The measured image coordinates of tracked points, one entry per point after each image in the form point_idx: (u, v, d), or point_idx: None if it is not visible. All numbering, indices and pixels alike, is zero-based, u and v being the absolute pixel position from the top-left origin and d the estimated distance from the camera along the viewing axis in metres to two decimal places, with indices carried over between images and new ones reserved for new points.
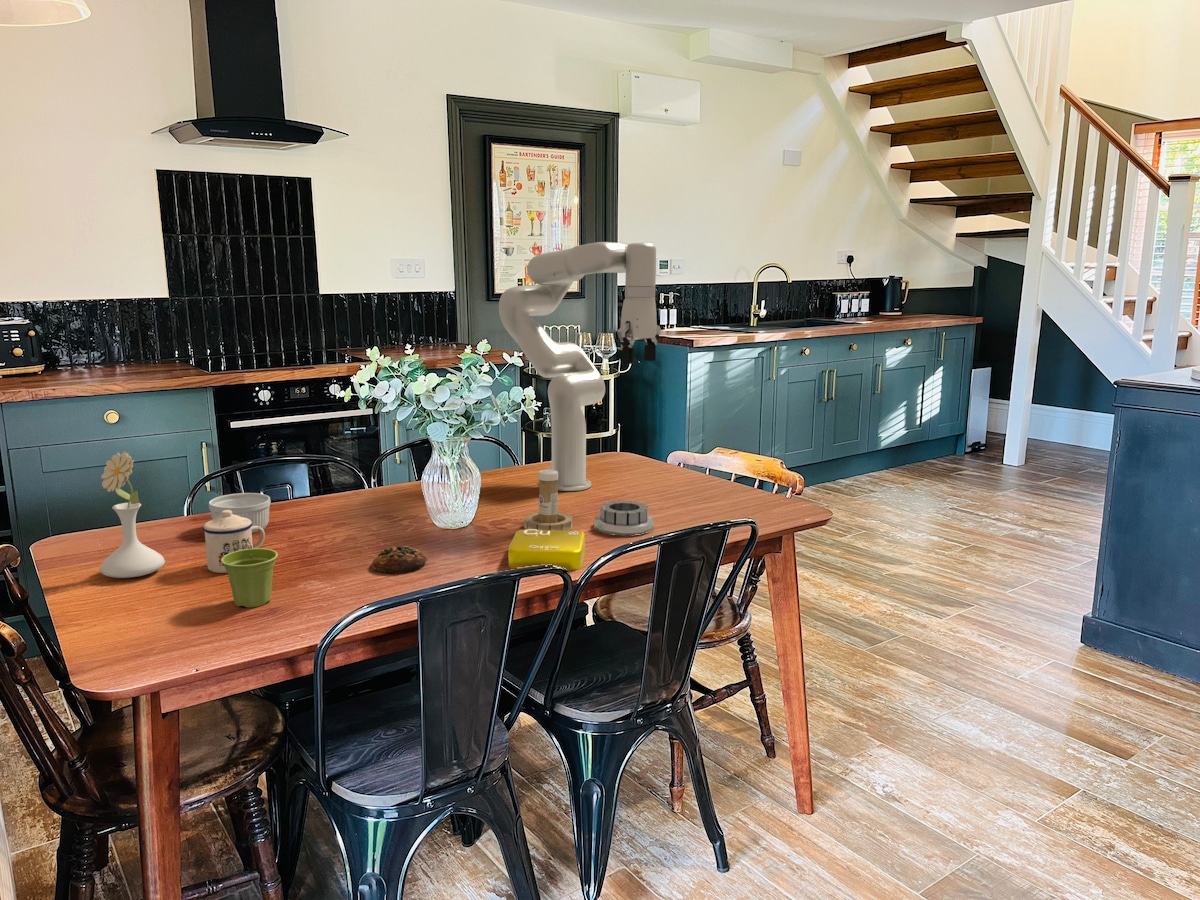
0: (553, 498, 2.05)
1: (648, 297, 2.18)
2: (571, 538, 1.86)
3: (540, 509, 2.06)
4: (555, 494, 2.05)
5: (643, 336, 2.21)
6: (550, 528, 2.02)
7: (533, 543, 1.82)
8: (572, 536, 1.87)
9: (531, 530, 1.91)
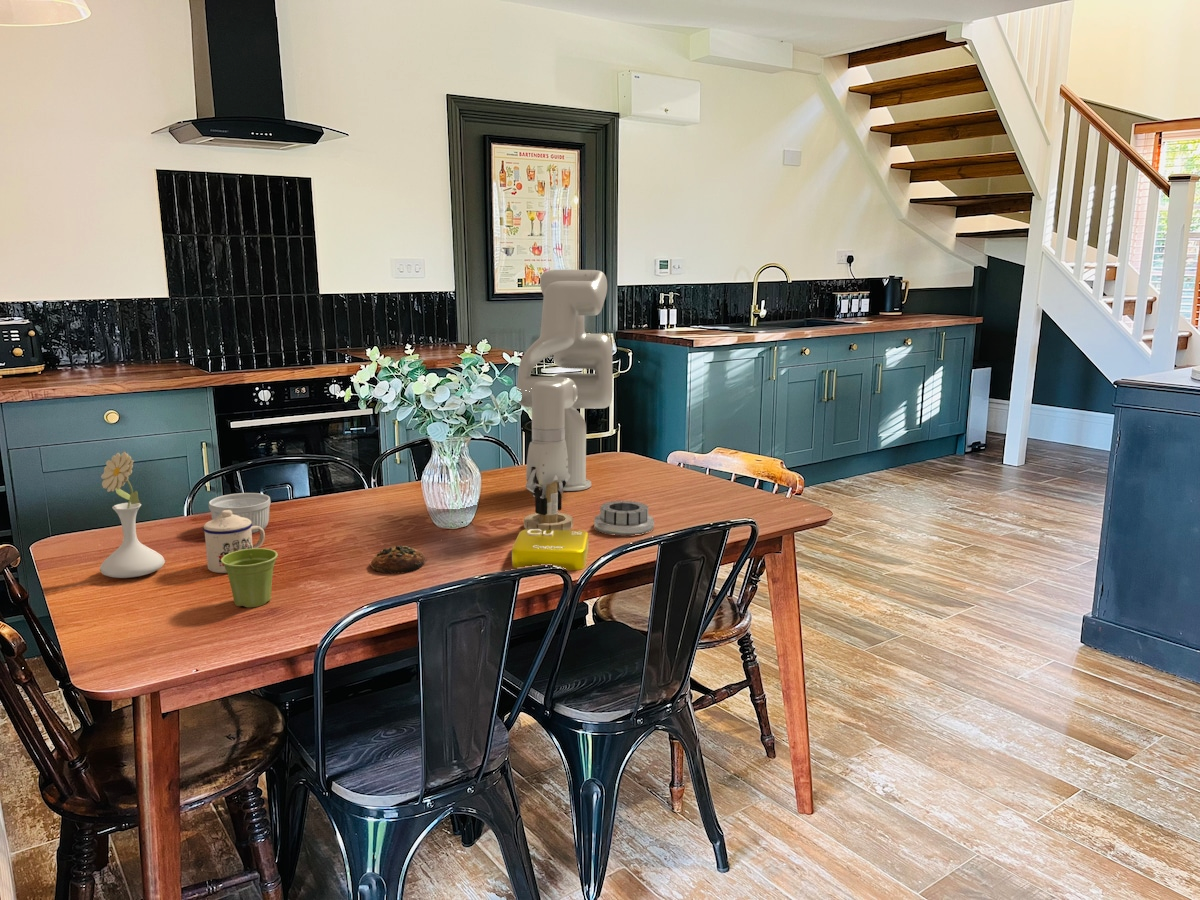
0: (553, 498, 2.05)
1: (556, 441, 2.01)
2: (574, 538, 1.86)
3: None
4: (555, 494, 2.05)
5: (551, 481, 2.03)
6: (550, 528, 2.02)
7: (536, 543, 1.82)
8: (576, 536, 1.87)
9: (535, 530, 1.91)
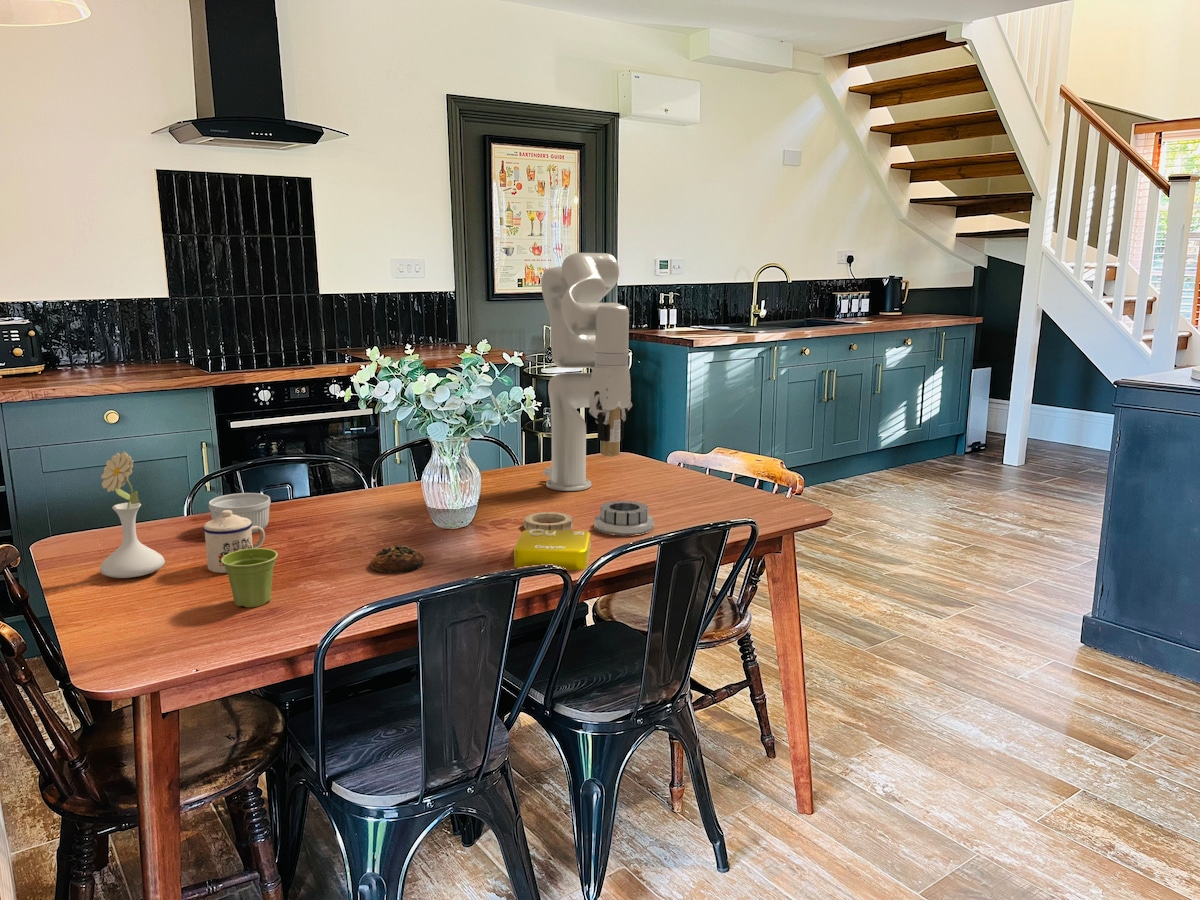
0: (616, 425, 2.01)
1: (620, 365, 1.97)
2: (576, 538, 1.86)
3: None
4: (618, 421, 2.01)
5: (614, 407, 2.00)
6: (550, 528, 2.02)
7: (539, 543, 1.82)
8: (578, 536, 1.87)
9: (537, 530, 1.91)
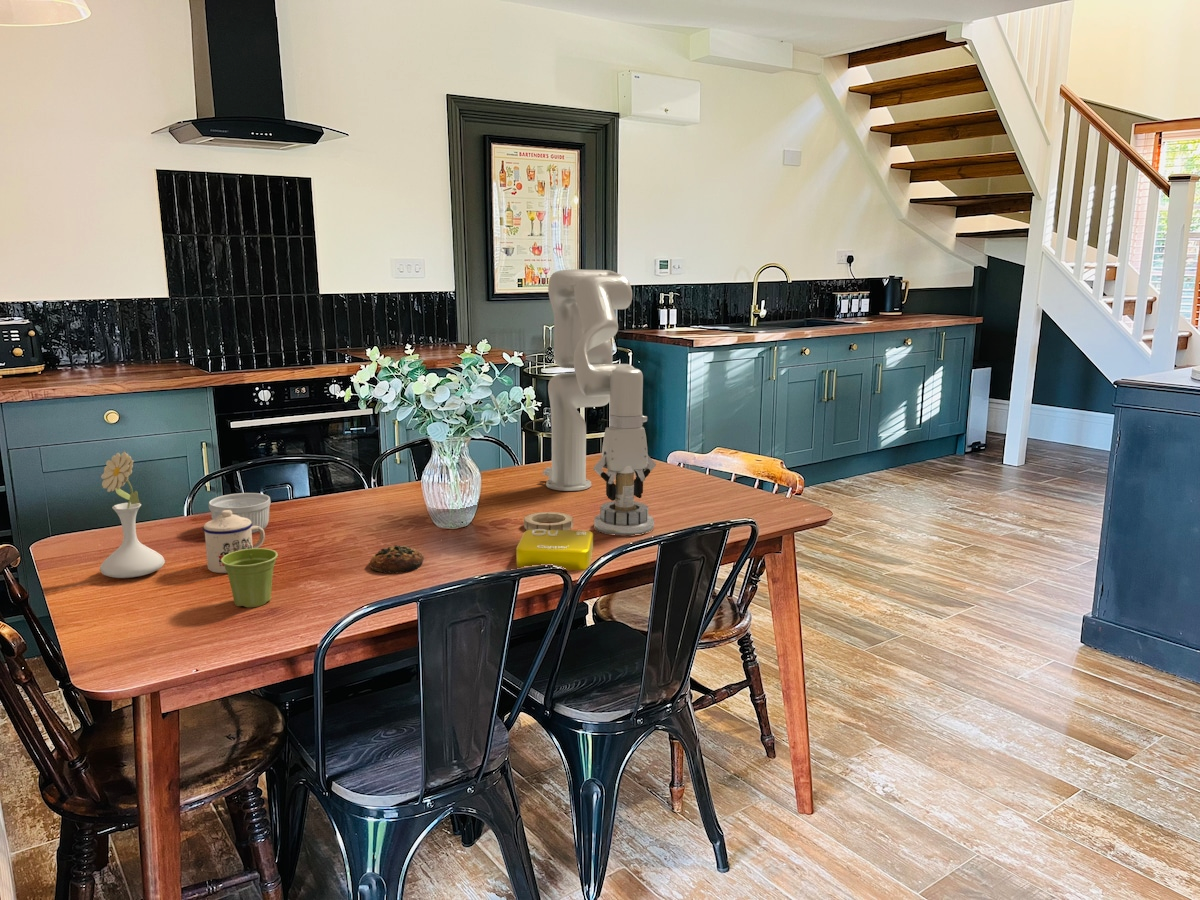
0: (625, 491, 2.04)
1: (626, 428, 1.99)
2: (579, 538, 1.86)
3: (615, 500, 2.07)
4: (628, 487, 2.04)
5: (623, 468, 2.03)
6: (550, 528, 2.02)
7: (541, 543, 1.83)
8: (580, 536, 1.87)
9: (539, 530, 1.91)
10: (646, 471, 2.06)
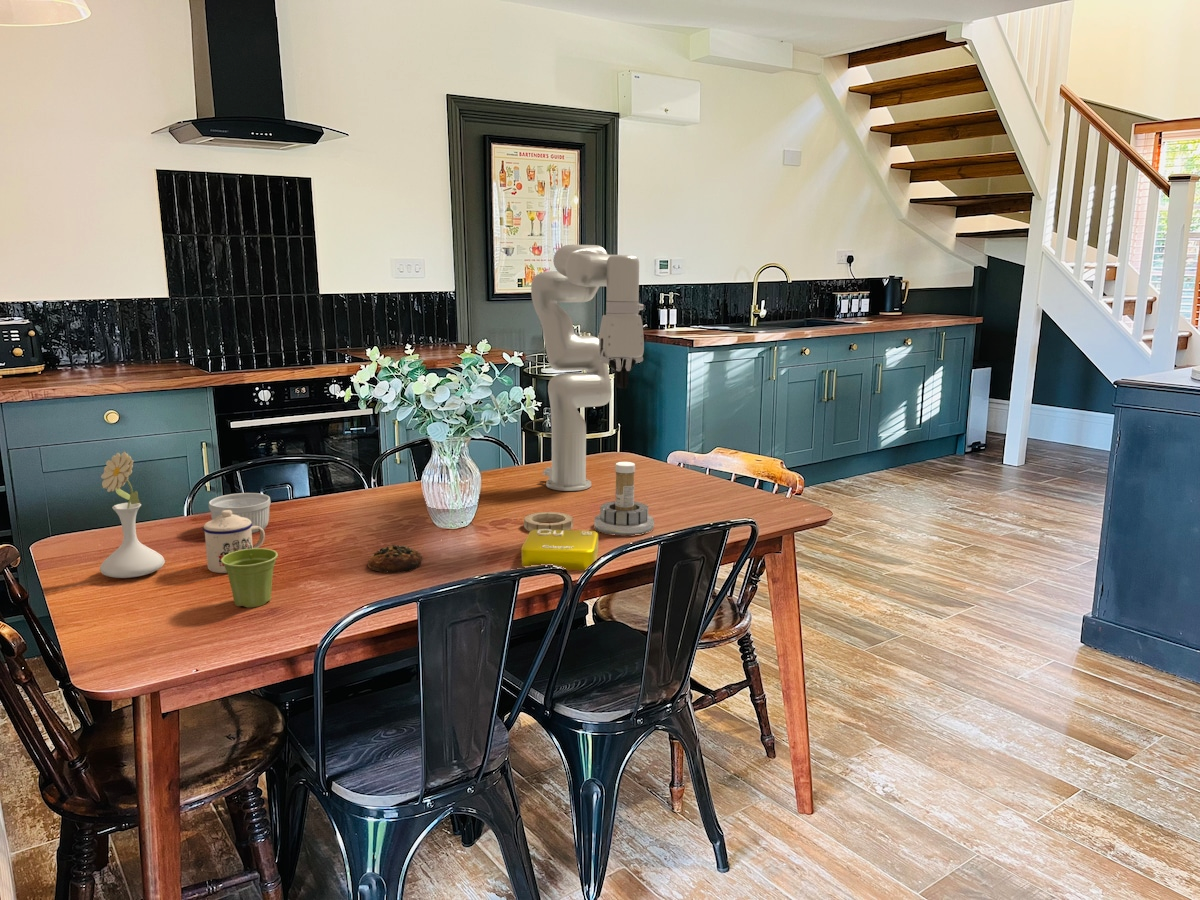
0: (625, 491, 2.04)
1: (623, 314, 2.02)
2: (584, 538, 1.86)
3: (615, 500, 2.07)
4: (628, 487, 2.04)
5: (620, 355, 2.06)
6: (550, 528, 2.02)
7: (546, 543, 1.83)
8: (585, 536, 1.87)
9: (545, 530, 1.91)
10: (631, 361, 2.08)
